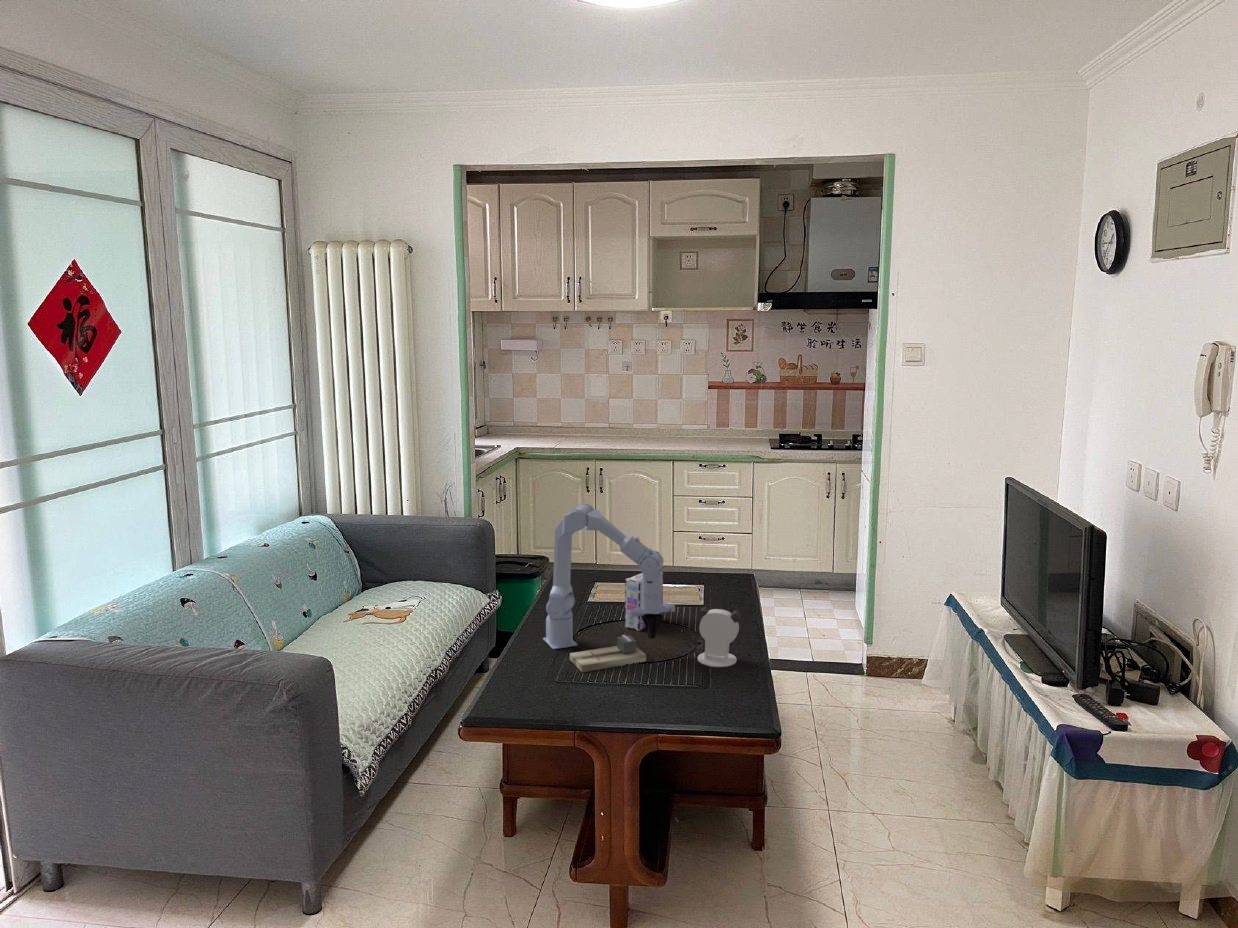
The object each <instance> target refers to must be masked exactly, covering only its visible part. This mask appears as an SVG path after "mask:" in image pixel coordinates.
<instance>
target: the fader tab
mask: <svg viewBox="0 0 1238 928" xmlns="http://www.w3.org/2000/svg"><path fill="white" fill-rule="evenodd" d="M616 646H617V648H618V649H619V650H621V651H622V652H623V653H629V652H635V651H636V647H637V640H636V639H635V638H634V637H633V636H631V635H626V634H622V635H621V636H617V638H616Z"/></svg>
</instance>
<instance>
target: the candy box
mask: <svg viewBox="0 0 1238 928" xmlns="http://www.w3.org/2000/svg"><path fill="white" fill-rule="evenodd" d="M642 578H643V573H642V572H641V573H638V574H636V575H632V576H631V577H628V578H625V580H624V581H625V583H624V584H625V585H624V586H625V587H624V588H625V590H624V595H625V596H624V628H627V629H629V630H630V629H631V630H634V631H638V632H639V631H642V630H643V629H646V626H645V623H644V621H643V619H642V617H641V616H636V617H634V618H630V617H629V616H628V610H631V609H635V608H638V607H641V606H642ZM661 578H662V587H661V604H664V601H663V600H664V595H663V593H664V572H661ZM663 613H664V612H663ZM663 613H661V615H663ZM663 616H664V615H663ZM661 621H663V619H662V620H661Z"/></svg>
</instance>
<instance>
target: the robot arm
mask: <svg viewBox="0 0 1238 928" xmlns="http://www.w3.org/2000/svg"><path fill="white" fill-rule="evenodd" d="M585 527H586V528H585ZM584 528H585V529H586V531H598V532H600V534H602V535H604V536H605V537H607V538H608V539H610V540H611V541H612V542H614V543H615V544H616V545H618V546H619V548H620V552H621V554H623V555H625V556H626V557H627V558H629V559H630V560H631V562H634V563H635V564H636V565H637V566H639V569H640V571H641V573H643V578H642V606H641V607H638V608H635V609H631V610H628V616H629V617H630V618H634V617H636V616H641V617H642V619H643V621H644V623H645V626H646V628H645V630H646V633H647V637H648V638H649V639H651V640H652V639H656V635H657V631H658V628H659V626H660V625H661V622H662V621H663V620H662V619H663V618H664V615H661V613H669V612H671V613H674V612H676V605H675V604H673V603H663V604H661V587H662V578H661V573H662V567H663V565H664V557H663V555H662V554H660V552H659V551H656V550H653V548H651V547H650V548H649V547H647V546H646V545H644V544H643V543H642V542H641V539H640V538H639V537H634V536H633V535H632V536H631V535H630V536H628V535H626V534H624V533H623V532H622V531H621V530H620V529H619V528H617V527H616V526H615V525H614V524H613V523H611V522H610V520H609V519H607V518H606V517H605V516H604V515H602V513H601V512H600V511H599V510H598V509H596V508H594V507H593V506H592V505H590V504H588V503H582V504H579V505H578V506H576V507H574V508H573V509H571V510H570V511H568V512H566V513H565V514H564V515H563V517H562V519H561V520H560V521H559V523H558V524H557V526H556V527H555V528H554V547H553V550H554V551H553V576H552V578H553V579H552V587H551V590H550V593H549V595H548V596H549V598H548V601H547V603H546V605H545V606H546V607H545V610H546V612H547V616H546V619H545V637H542V640H543V641H544V642H545V643H546V644H547V645H548V646H549V647H550V648H551V649H552V650H557V649H563V648H564V649H565V648H570V647H577V646H578V643H577V642H576V641H574V640H573V639H574V638H573V637H574V636H573V632H574V631H573V630H574V629H573V627H574V626H573V624H574V623H573V620H574V619H573V618H574V617H573V611H572V609H573V607H574V606H575V603H576V598H575V596H574V594H573V593H574V592H573V587H572V585H571V574H572V573H571V570H572V544H573V534H575V533H576V532H579V531H582V530H583V529H584Z"/></svg>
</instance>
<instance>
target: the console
mask: <svg viewBox="0 0 1238 928" xmlns="http://www.w3.org/2000/svg"><path fill="white" fill-rule="evenodd" d="M569 661H571V662H572V663H573V665H574V666H576V668H577V669H578V670H579V671H580V672H581V673H586V672H592V671H599V670H603V669H604V670H605V669H609V668H615V667H614V666H616V667H621V666H627V665H626V664H628V665H633V663H634V664H639V662H640V663H644V662H645V661H646V662H647V654H646V653H645V652H643V651H642V650H641V649H640V648H639V647H637V646H636V651H635V652H629V653H623V652H622V651H621V650H619V649H618V648H617V645H612V646H607V647H599V648H594V649H587V650H582V651H576V652H570V653H569Z"/></svg>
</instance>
